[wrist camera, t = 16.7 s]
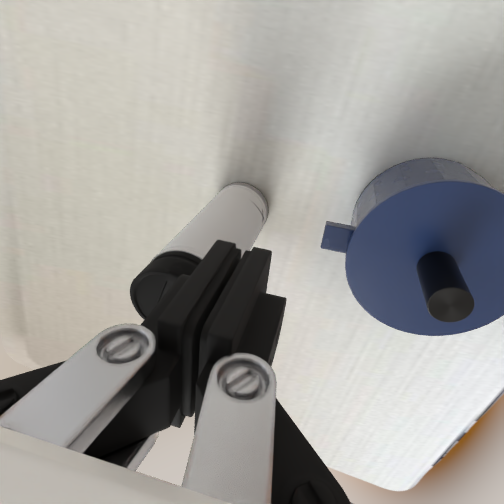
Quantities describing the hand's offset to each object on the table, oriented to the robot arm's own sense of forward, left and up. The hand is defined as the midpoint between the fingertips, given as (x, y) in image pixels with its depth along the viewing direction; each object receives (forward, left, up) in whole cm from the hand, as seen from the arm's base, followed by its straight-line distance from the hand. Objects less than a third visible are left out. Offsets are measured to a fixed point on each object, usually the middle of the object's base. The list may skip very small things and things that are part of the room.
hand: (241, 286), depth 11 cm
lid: (+8, +12, -21) cm, 25 cm away
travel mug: (+10, -7, -29) cm, 32 cm away
